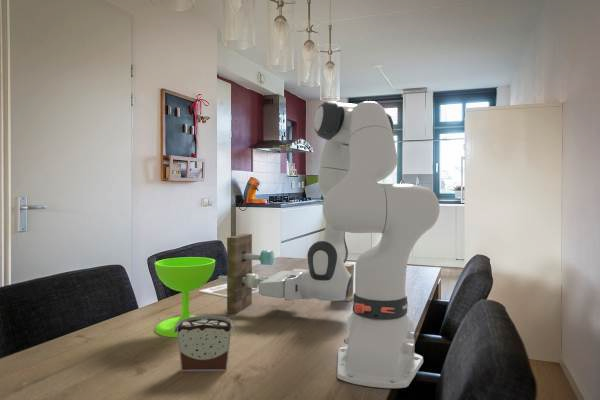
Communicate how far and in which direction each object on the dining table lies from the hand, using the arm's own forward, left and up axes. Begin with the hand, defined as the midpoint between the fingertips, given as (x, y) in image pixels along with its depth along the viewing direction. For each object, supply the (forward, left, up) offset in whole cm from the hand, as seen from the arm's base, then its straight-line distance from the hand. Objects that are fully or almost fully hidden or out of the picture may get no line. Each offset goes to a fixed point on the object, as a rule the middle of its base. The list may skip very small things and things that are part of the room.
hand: (256, 280), depth 136 cm
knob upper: (0, +1, +5) cm, 5 cm away
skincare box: (+21, -23, -9) cm, 33 cm away
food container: (-43, -6, -9) cm, 45 cm away
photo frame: (+20, +18, -10) cm, 29 cm away
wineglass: (-22, +12, -9) cm, 27 cm away
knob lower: (0, +6, -2) cm, 7 cm away
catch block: (0, +6, -9) cm, 11 cm away
